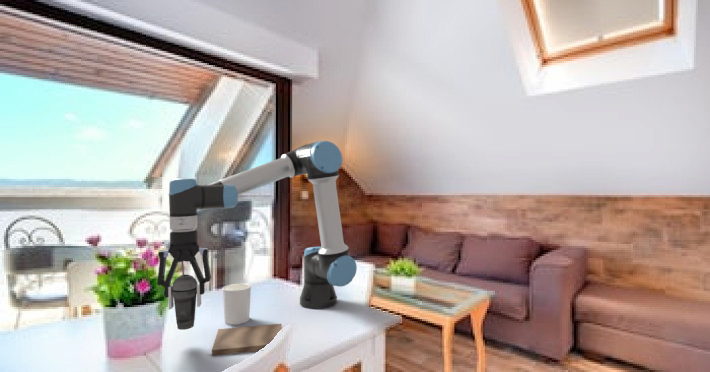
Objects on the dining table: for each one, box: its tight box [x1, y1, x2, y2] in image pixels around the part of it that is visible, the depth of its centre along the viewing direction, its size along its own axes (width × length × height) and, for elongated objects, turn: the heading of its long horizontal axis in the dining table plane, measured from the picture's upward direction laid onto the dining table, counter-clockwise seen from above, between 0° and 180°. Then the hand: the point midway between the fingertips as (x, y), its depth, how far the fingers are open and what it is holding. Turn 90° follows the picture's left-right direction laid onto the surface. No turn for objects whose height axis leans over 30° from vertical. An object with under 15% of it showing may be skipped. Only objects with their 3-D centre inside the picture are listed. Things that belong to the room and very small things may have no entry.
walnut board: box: [211, 323, 283, 356], centre depth 114 cm, size 20×16×2 cm
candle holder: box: [221, 282, 252, 326], centre depth 131 cm, size 10×10×12 cm
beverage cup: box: [172, 261, 198, 331], centre depth 111 cm, size 7×7×20 cm
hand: (185, 306), depth 111 cm, fingers closed on beverage cup, 7 cm apart
